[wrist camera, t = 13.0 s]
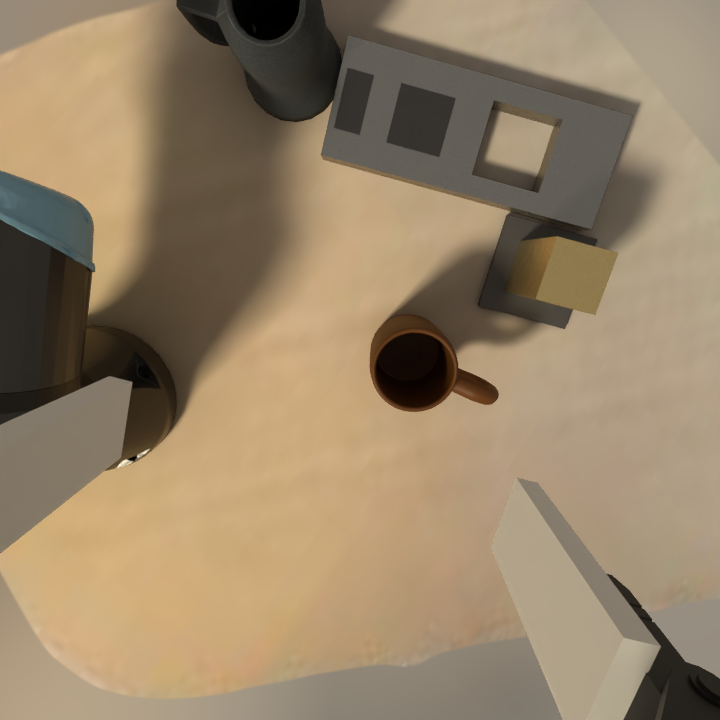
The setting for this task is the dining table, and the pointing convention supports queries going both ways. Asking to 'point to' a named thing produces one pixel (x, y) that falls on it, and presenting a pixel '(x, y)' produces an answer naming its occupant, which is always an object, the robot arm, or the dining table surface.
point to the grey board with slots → (466, 132)
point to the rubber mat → (501, 268)
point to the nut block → (561, 273)
